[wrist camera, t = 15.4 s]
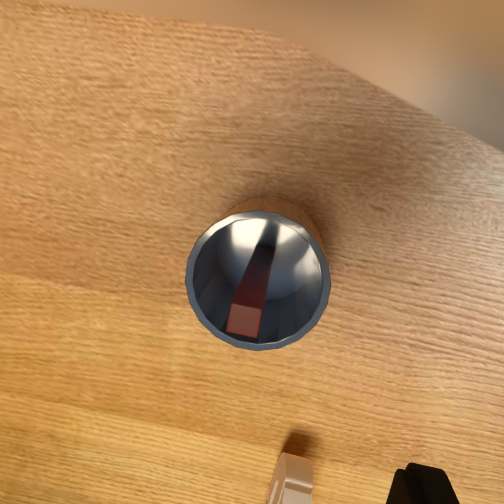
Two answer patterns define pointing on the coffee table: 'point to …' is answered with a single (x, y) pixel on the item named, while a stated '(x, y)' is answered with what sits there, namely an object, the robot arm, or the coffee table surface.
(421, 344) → the coffee table surface
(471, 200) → the coffee table surface
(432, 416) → the coffee table surface
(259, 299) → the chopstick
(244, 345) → the cup
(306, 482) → the contact lens case
